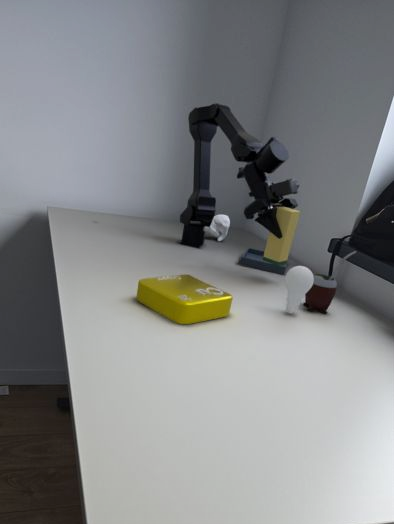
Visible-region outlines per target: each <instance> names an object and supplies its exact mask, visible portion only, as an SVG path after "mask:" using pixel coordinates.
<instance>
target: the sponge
mask: <svg viewBox="0 0 394 524" xmlns="http://www.w3.org/2000/svg"><path fill="white" fill-rule="evenodd" d="M300 214H301V210H297V209H295V208H294V209H290V208H287V207H277V213H276V218H277V221H278V224H279V226H280V229H281V232H282V236H283V237H282V238H280V239H279V238H277V237H276V236H275V235H274V234H272V233H271V232H270V231H268V232H269V233H268V236H267V240H266V244H265V249H264V251H265V252H264V256H263V261H266V262H269V263H271V264H274V265H277V266H279V265H283V264H286V263H287V264H288V261H287V259H288V260H289V255H290V252H291V248H292V244H293V241H294V236H295V233H296V230H297V226H298V222H299V218H300Z"/></svg>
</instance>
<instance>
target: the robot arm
mask: <svg viewBox="0 0 394 524" xmlns="http://www.w3.org/2000/svg"><path fill="white" fill-rule="evenodd" d="M187 120H188V131H189V133H190V135H191V137H192V140H193V142H194V143H193V145H194V147H193V148H194V149H193V180H192V181H193V182H192V183H193V184H192V185H193V186H192V187H193V188H192V193H191V195H190V196H189V197H188V199H187V203H186V204H187V205H186V208H185V209H184V210H183V211H182V212H181V213H180V215H179V222H180V223H181V224H183V229H182V235H181V240H180V241H179V244H182V245H185V246H190V247H195V248H201V247H202V246H203V245H204V244H205V241H206V236H207V233H206V231H205V226H207V227H210V225H211V223H212V221H213V218H214V216H216V212H217V208H216V205H217V204H216V203H217V199H216V197H215V196H212V194H211V191H210V186H211V185H210V184H211V157H212V155H211V153H212V141H213V139H214V137H215V136H216V134H217V131H218V128H220V130H221V131H222V132H223V134H224V136H225V137H226V138H227V140H228V141H229V143H230V151H231V154H232V156H233V158H234V160H235V161H236V162H238V163H245V165H244V166H241V167H238V172H237V175H236V179H238V180H240V179H244V180H245V182H246V184H247V186H248V189H249V190H250V192H248V196H249V198H253V201H252V202H251V203H249V204H248V205H246V206H245V207H244V209H243V215H244V217H245V219H246V220H253V219H254V222H256V223H258V224H259V225H261V226H262V227H263V228H265V229H266V230H267V231H268V232H271V233H272V234H274V235H275V236H276V237H277V238H279V239H280V238H282V237H283V236H282V232H281V229H280V226H279V224H278V221H277V218H276V213H277V207H287V208H290V209H294V210H295V209H296V208H297V207H298V206H299V204H298V202H297V200H296V199H295V198H292V197H285V196H289V195H296V194H298V193H299V191H298V189H299V188H300V184H299V183H298V180H296V178H294V177H291V178H287V179H286V180H283V181H280V182H276V181H274V180H271V178H270V176H269V174H273V173H274V172H275V171H277V169H279V168H280V167H281V166H282V165H283V164H284V163H285V162H287V160H288V159H289V156H290V154H289V150H288V149H287V147H286V146H285V145H284V144H283V143H282V142H280V140H279V137H275V136H271V137H270V138H269V139H268V141H267V142H266V143H265V144H263V143H262V141H260V140H259V139H258V138H257V137H255V136H253V135H251V134H249V133H248V132H247V130H245V128H244V127H243V125H242V124H241V123H240V121H238V119H237V118H236V116H235V115H234V114H233V112H232V111H231V108H230V107H229V106H228V105H227V104H223V103H218V102H215V103H212V104H210V105H206V106H200V107H194V108H193V109H192V110H191V111H189V114H188V119H187ZM256 214H257V217H256V218H255V215H256Z"/></svg>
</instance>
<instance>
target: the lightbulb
mask: <svg viewBox="0 0 394 524" xmlns="http://www.w3.org/2000/svg"><path fill="white" fill-rule="evenodd" d="M313 274H314V273H313V272H312V271H311V269H310V268H308V267H307V266H304V265H295V266H293V267H291V268H290V269H289V270H288V271H287V273H286V274H285V279H284V282H285V288H286V293H287V294H286V305H285V311H286V312H287V313H288V314H290V315H293V314H296V313H297V312H298V308H299V306H300V305H301V303H302V300H303V298H304V297H305V294H306V293H307V292H308V291H309V290H310V288H311V287H312V285H313V282H314V277H313Z"/></svg>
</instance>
